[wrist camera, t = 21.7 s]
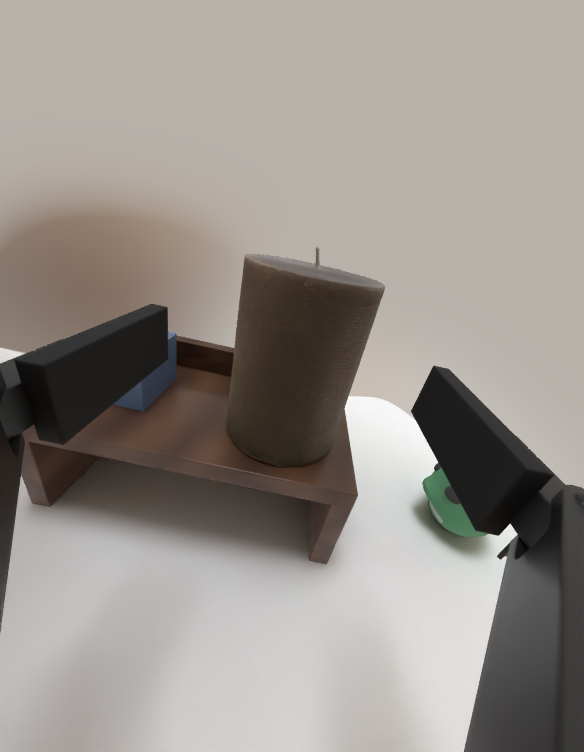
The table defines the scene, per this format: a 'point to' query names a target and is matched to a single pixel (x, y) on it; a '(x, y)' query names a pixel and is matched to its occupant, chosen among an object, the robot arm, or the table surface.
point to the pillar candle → (296, 356)
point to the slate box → (152, 382)
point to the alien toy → (447, 505)
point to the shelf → (196, 447)
